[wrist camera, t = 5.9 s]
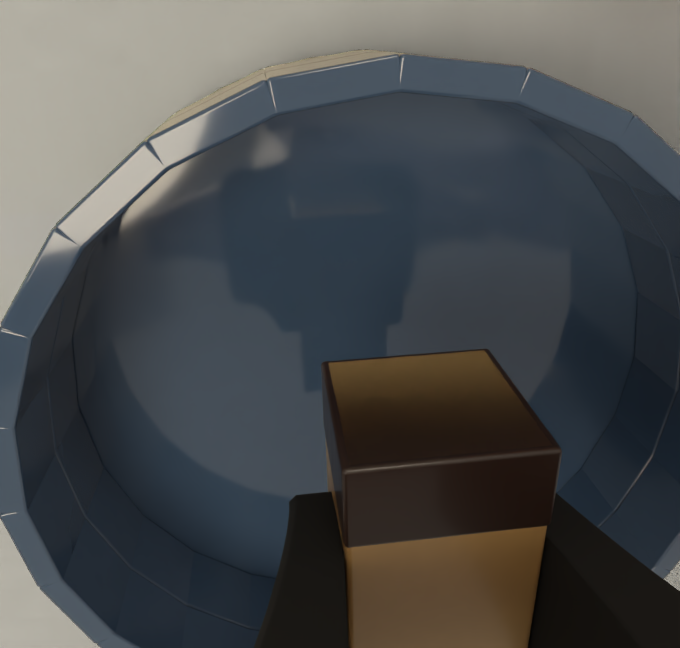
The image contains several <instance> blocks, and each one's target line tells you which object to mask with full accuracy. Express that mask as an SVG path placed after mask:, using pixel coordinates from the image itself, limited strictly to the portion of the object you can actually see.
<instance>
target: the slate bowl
mask: <svg viewBox="0 0 680 648" xmlns="http://www.w3.org/2000/svg"><path fill="white" fill-rule="evenodd" d="M473 349H489V350H490V352H491V353H492V354H493V356H494V357H495V358H496V360H497V361H498V363H499V364H500V365H501V367H502V368H503V369H504V371H505V372H506V374H507V375H508V376H509V378H510V379H511V380H512V382H513V383H514V385H515V386H516V387H517V389H518V390H519V391H520V393H521V394H522V395H523V397H524V398H525V400H526V401H527V402H528V404H529V405H530V406H531V408H532V409H533V411H534V412H535V413H536V415H537V416H538V417H539V419H540V420H541V422H542V423H543V424H544V426H545V427H546V428H547V430H548V431H549V432H550V434H551V435H552V437H553V438H554V439H555V441H556V442H557V443H558V445H559V446H560V448H561V450H562V457H561V463H560V469H559V476H558V482H557V488H556V493H557V494H558V495H559V496H560V497H562V498H563V499H564V500H565V501H566V502H568V503H569V504H570V505H571V506H572V507H573V508H575V509H576V510H577V511H578V512H579V513H581V514H582V515H583V516H584V517H586V518H587V519H588V520H589V521H590V522H592V523H593V524H594V525H595V526H596V527H598V528H599V529H600V530H601V531H602V532H604V533H605V534H606V535H607V536H609V537H610V538H611V539H612V540H614V541H615V542H616V543H617V544H619V545H620V546H621V547H622V548H624V549H625V550H626V551H627V552H629V553H630V554H631V555H632V556H634V557H635V558H636V559H637V560H639V561H640V562H641V563H643V564H644V565H645V566H647V567H648V568H649V569H650V570H652V571H653V572H654V573H656V574H657V575H658V576H660V577H661V578H662V579H664V578H665V577H666V576H667V575H668V574H670V571H671V570H673V569H674V567H675V566H676V565H677V563H678V562H679V561H680V155H679V154H678V153H677V152H676V151H675V150H674V149H673V148H672V147H671V146H670V145H669V144H668V143H666V142H665V141H664V140H663V139H662V138H661V137H660V136H659V135H658V134H657V133H656V132H655V131H653V130H652V129H651V128H650V127H649V126H648V125H647V124H646V123H645V122H644V121H643V120H642V119H641V118H639V117H638V116H637V115H633V113H632V112H631V111H628V110H626V109H624V108H622V107H619V106H617V105H615V104H613V103H610V102H608V101H606V100H603V99H601V98H599V97H597V96H594V95H592V94H590V93H588V92H585V91H583V90H581V89H578V88H576V87H574V86H572V85H569V84H567V83H565V82H563V81H560V80H558V79H556V78H553V77H551V76H549V75H547V74H544V73H542V72H540V71H537V70H535V69H533V68H528V67H525V66H521V65H511V64H502V63H492V62H483V61H474V60H464V59H455V58H445V57H436V56H426V55H416V54H407V53H397V52H388V51H378V50H369V49H365V50H354V51H349V52H343V53H338V54H333V55H326V56H317V57H310V58H306V59H302V60H298V61H294V62H290V63H284V64H279V65H274V66H268V67H266V68H265V69H260V70H258V71H256V72H254V73H252V74H250V75H248V76H246V77H244V78H242V79H240V80H238V81H236V82H233V83H231V84H229V85H226V86H224V87H222V88H220V89H218V90H216V91H215V92H213V93H211V94H210V95H208V96H206V97H205V98H203V99H201V100H199V101H197V102H195V103H193V104H191V105H189V106H187V107H185V108H183V109H181V110H179V111H177V112H176V113H175V114H174V115H172V116H171V117H170V118H168V119H167V120H166V121H165V122H164V123H163V124H162V125H160V126H159V127H158V128H157V129H156V130H155V131H154V132H153V133H151V134H150V135H149V136H148V137H147V138H146V139H145V140H144V141H142V142H141V143H140V144H139V145H138V146H137V147H136V148H135V149H134V150H133V151H132V152H131V153H130V154H129V155H128V156H127V157H126V158H125V159H123V160H122V161H121V162H120V163H119V164H118V165H117V166H116V167H115V168H114V169H113V170H112V171H111V172H110V173H109V174H108V175H107V176H106V177H105V178H104V179H102V180H101V181H100V182H99V183H98V184H97V185H96V186H95V187H94V188H93V189H92V190H91V191H90V192H89V193H88V194H87V195H86V196H85V197H84V198H82V199H81V200H80V201H79V202H78V203H77V204H76V205H75V206H74V207H73V208H72V209H71V210H70V211H69V212H68V213H67V214H66V215H65V216H64V217H62V218H61V219H60V220H59V221H58V222H57V223H56V226H55V227H54V228H53V229H52V230H51V232H50V233H49V235H48V237H47V239H46V241H45V242H44V244H43V246H42V248H41V250H40V252H39V253H38V255H37V257H36V259H35V261H34V263H33V264H32V266H31V268H30V270H29V272H28V274H27V275H26V277H25V279H24V281H23V283H22V285H21V286H20V288H19V290H18V292H17V294H16V296H15V297H14V299H13V301H12V303H11V305H10V307H9V308H8V310H7V312H6V314H5V316H4V318H3V319H2V321H1V327H0V518H1V520H2V522H3V524H4V526H5V528H6V529H7V531H8V533H9V535H10V537H11V539H12V540H13V542H14V544H15V546H16V548H17V550H18V551H19V553H20V555H21V557H22V559H23V561H24V562H25V564H26V566H27V568H28V570H29V572H30V573H31V575H32V577H33V579H34V581H35V583H36V584H37V586H38V587H40V590H41V591H42V592H43V593H44V594H45V595H46V596H47V597H48V598H49V599H50V600H51V601H52V602H53V603H54V604H55V605H56V606H57V607H58V608H59V609H60V610H61V611H62V612H63V613H64V614H65V615H66V616H67V617H68V618H69V619H70V620H71V621H72V622H73V623H75V624H76V625H77V626H78V627H79V628H80V629H81V630H82V631H83V632H84V633H85V634H86V635H87V636H88V637H89V638H90V639H91V640H92V641H93V642H94V643H97V645H98V646H99V647H101V648H254V645H255V642H256V640H257V637H258V634H259V631H260V628H261V626H262V623H263V620H264V617H265V614H266V611H267V608H268V604H269V601H270V597H271V594H272V590H273V587H274V583H275V580H276V576H277V573H278V569H279V566H280V561H281V557H282V553H283V548H284V544H285V538H286V533H287V527H288V518H289V501H290V500H291V499H292V498H294V497H295V496H296V495H301V494H311V493H321V492H328V481H327V458H326V436H325V430H324V422H323V400H322V378H321V365H322V362H325V361H337V360H349V359H361V358H374V357H386V356H399V355H411V354H423V353H436V352H448V351H461V350H473Z"/></svg>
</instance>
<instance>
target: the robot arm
mask: <svg viewBox="0 0 680 648" xmlns="http://www.w3.org/2000/svg"><path fill="white" fill-rule="evenodd" d="M254 648H349V643H348V623H347V604H346V585H345V566H344V551H343V545H342V540H341V535H340V530H339V525H338V520H337V515H336V510H335V505H334V501H333V496H332V492H321V493H311V494H301V495H296V496H295V497H294V498H292V499H291V500H290V501H289V518H288V527H287V533H286V538H285V544H284V548H283V553H282V557H281V561H280V566H279V569H278V573H277V576H276V580H275V583H274V587H273V590H272V594H271V597H270V601H269V604H268V608H267V611H266V614H265V617H264V620H263V623H262V626H261V628H260V631H259V634H258V637H257V640H256V642H255V645H254ZM528 648H680V591H678V590H677V589H676V588H674V587H673V586H672V585H670V584H669V583H668V582H666V581H665V580H664V579H662V578H661V577H660V576H658V575H657V574H656V573H654V572H653V571H652V570H650V569H649V568H648V567H647V566H645V565H644V564H643V563H641V562H640V561H639V560H637V559H636V558H635V557H634V556H632V555H631V554H630V553H629V552H627V551H626V550H625V549H624V548H622V547H621V546H620V545H619V544H617V543H616V542H615V541H614V540H612V539H611V538H610V537H609V536H607V535H606V534H605V533H604V532H602V531H601V530H600V529H599V528H598V527H596V526H595V525H594V524H593V523H592V522H590V521H589V520H588V519H587V518H586V517H584V516H583V515H582V514H581V513H579V512H578V511H577V510H576V509H575V508H573V507H572V506H571V505H570V504H569V503H568V502H566V501H565V500H564V499H563V498H562V497H560V496H559V495H558V494H557V493H556V494H555V500H554V506H553V513H552V519H551V523H550V525H548V526H547V530H546V536H545V542H544V549H543V555H542V561H541V567H540V574H539V580H538V586H537V593H536V599H535V605H534V611H533V618H532V624H531V630H530V637H529V643H528Z"/></svg>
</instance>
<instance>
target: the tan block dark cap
mask: <svg viewBox="0 0 680 648" xmlns="http://www.w3.org/2000/svg"><path fill="white" fill-rule="evenodd" d="M321 378H322V400H323V422H324V430H325V436H326V458H327V481H328V492H332V496H333V501H334V505H335V510H336V515H337V520H338V525H339V530H340V535H341V540H342V545H343V551H344V566H345V585H346V604H347V623H348V643H349V648H528V643H529V637H530V630H531V624H532V618H533V611H534V605H535V599H536V593H537V586H538V580H539V574H540V567H541V561H542V555H543V549H544V542H545V536H546V530H547V526H548V525H550V523H551V519H552V513H553V506H554V500H555V494H556V488H557V482H558V476H559V469H560V463H561V457H562V450H561V448H560V446H559V445H558V443H557V442H556V441H555V439H554V438H553V437H552V435H551V434H550V432H549V431H548V430H547V428H546V427H545V426H544V424H543V423H542V422H541V420H540V419H539V417H538V416H537V415H536V413H535V412H534V411H533V409H532V408H531V406H530V405H529V404H528V402H527V401H526V400H525V398H524V397H523V395H522V394H521V393H520V391H519V390H518V389H517V387H516V386H515V385H514V383H513V382H512V380H511V379H510V378H509V376H508V375H507V374H506V372H505V371H504V369H503V368H502V367H501V365H500V364H499V363H498V361H497V360H496V358H495V357H494V356H493V354H492V353H491V352H490V350H489V349H473V350H461V351H448V352H436V353H423V354H411V355H399V356H386V357H374V358H361V359H349V360H337V361H325V362H322V365H321Z"/></svg>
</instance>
